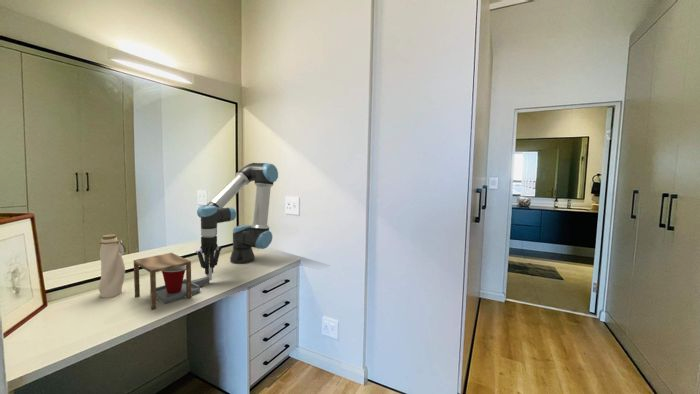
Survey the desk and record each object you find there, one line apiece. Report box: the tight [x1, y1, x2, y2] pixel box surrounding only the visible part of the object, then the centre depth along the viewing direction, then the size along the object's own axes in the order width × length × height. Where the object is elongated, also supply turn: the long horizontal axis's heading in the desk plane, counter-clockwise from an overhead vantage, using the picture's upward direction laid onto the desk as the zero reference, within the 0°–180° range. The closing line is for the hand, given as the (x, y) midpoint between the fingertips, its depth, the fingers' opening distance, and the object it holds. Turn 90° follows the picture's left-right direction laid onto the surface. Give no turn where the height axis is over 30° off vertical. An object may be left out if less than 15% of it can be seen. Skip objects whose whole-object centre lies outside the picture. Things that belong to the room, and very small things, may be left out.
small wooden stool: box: [133, 252, 192, 311], centre depth 133 cm, size 16×20×17 cm
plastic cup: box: [161, 265, 186, 294], centre depth 138 cm, size 11×11×12 cm
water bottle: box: [98, 233, 127, 298], centre depth 134 cm, size 10×9×28 cm
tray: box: [149, 276, 210, 304], centre depth 141 cm, size 24×16×3 cm, turn 144°
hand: (209, 279), depth 152 cm, fingers closed
